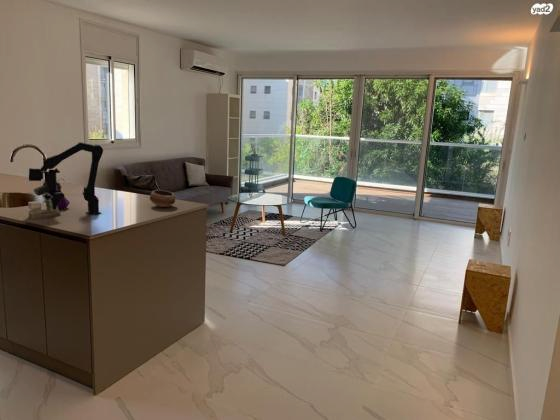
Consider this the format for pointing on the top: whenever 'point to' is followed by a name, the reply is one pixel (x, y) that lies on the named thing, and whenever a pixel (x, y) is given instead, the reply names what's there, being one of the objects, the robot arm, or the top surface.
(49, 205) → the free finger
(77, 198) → the top surface
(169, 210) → the top surface
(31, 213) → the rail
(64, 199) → the perfume bottle
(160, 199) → the bowl
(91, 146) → the robot arm
